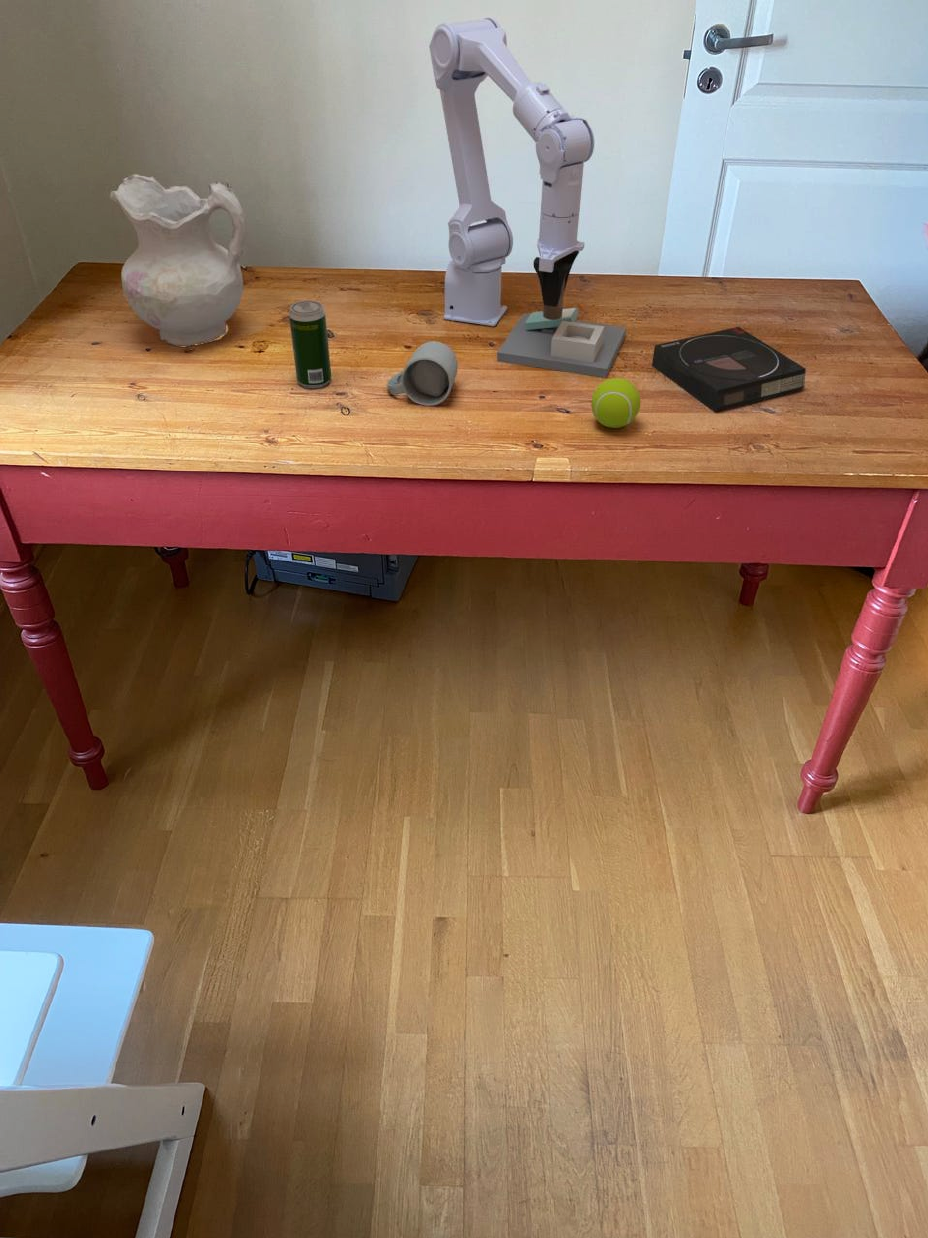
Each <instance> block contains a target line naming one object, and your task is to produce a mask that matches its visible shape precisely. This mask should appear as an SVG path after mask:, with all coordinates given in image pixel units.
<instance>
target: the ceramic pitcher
mask: <svg viewBox="0 0 928 1238" xmlns="http://www.w3.org/2000/svg"><path fill="white" fill-rule="evenodd" d="M120 182H121V184H119V186H118V188H117V190H113V191H111V192H110V193H109V198H110V200H111V201H112V202H114V203H116V204H118V205H119V206H120V208H121V209H122V211H123V213H124V214H125V216H126V218H127V219H128V220H129V222H130V223H131V225H132V227H133V228H134V230H135V233H136V236H137V239H138V246H137V248H136V250H135V251H133V252H132V254H131V255H130V256H129V257H128V259H127V260H125V262H124V264H123V265H122V268H121V273H120V274H121V275H120V277H121V286H122V291H123V296H124V297H125V298H126V301H127V303H128V304H129V307H130V308H131V310H132V311H133V312H134V313H135V314H136V315H137V316H138V317H139V318H140V319H141V320H142V322H144V323H146V325H149V326H150V327H153V328H155V329H156V330H157V329H158V330H159V331H158V332H159V338H160V339H161V338H162V339H163V340H164V341H165V343H166V342H167V343H166V344H168V343H169V345H172V346H176V347H179V346H189V347H192V346H191V345H195V344H201V343H206V342H210V341H213V340H215V339H217V338H219V337H220V336H221V335H223V334H225V333H226V325H228V324H227V323H226V321H227V320H229V319H231V318H232V316H233V315H234V313H235V311H237V308H238V307H239V304H240V302H241V299H242V296H243V291H244V281H243V278H244V277H243V274H242V270H241V265H240V263H239V260H240V259H241V258H242V255H243V253H244V246H245V243H246V239H247V229H246V228H247V227H246V220H245V215H244V211H243V208H242V205H241V203H240V201H239V199H238V197H237V196H236V195H235V194H234V189H233V187H232V186H229V183H228V182H224V181H219V182H217V181H216V182H213V183H210V184H207V188H208V190H209V195H208V197H207V198H201V197H200V196H199V195H197V194H196V192H194V191H193V190H192V189H191V188H190V187H188V186H187V185H185V186H183V185H182V186H178V185H176V186H175V185H174V186H169V187H167V188H166V187H163V186H162V185H161V183H159V182H158V181H157V179H156V178H154V177H153V175H151V176H149V177H147V176H145V175H140V174H138V173H136V174H135V173H134V174H132V175H128V176H127V175H126V177H125V178H123V179H121V181H120ZM221 209H222V210H224V211H226V212H227V213H228V215H229V216H230V219H231V222H232V227H233V230H232V235H231V239H230V242H229V243H228V244H229V245H228V249H226V247H224V246H223V245H220V244H218V243H216V242H215V241H214V239H213V237H212V235H211V231H210V217H211V216H212V214H213V213H214V212H216V211H217V210H221ZM162 339H161V340H162ZM163 340H162V341H163ZM164 341H163V342H164ZM210 343H211V342H210ZM206 344H207V343H206ZM201 345H202V344H201ZM195 346H196V345H195Z"/></svg>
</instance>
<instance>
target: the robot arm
mask: <svg viewBox="0 0 928 1238" xmlns="http://www.w3.org/2000/svg"><path fill="white" fill-rule="evenodd" d="M431 37H432V38H431V40H430V43H429V45H428V47H429V53H430V59H431V64H432V69H433V71H432V72H433V75H434V81H435V85H436V89H437V90H438V89H439V94H440V100H441V106H442V111H443V117H444V121H445V130H446V134H447V139H448V145H449V151H450V152H449V153H450V157H451V164H452V169H453V174H454V180H455V186H456V193H457V197H458V202H459V207H458V209H456V211H455V213H454V214H453V215H452V216H451V218H450V219H449V221H448V222H447V225H448V231H449V232H448V236H449V237H448V251H449V252H448V253H449V255H450V258H451V260H450V262H449V263H448V265H447V267H446V271H445V276H444V315H443V319H444V320H447V321H455V322H463V323H470V324H474V325H475V324H477V325H484V326H490V327H495V326H496V325H497V323H499V321H500V320H501V318H502V317H503V316H504V314H505V313H506V312H507V310H508V306H507V305H501V297H502V296H501V295H502V294H501V293H502V292H501V291H502V268H503V266H504V265H505V264H506V258H508V257H509V256H510V255H511V253H512V251H513V245H514V237H513V232H512V229H511V227H510V225H509V223H508V220H507V215H506V211H505V210H504V209H503V208H502V207H500V206H499V205H498V204H496V203H495V202H494V201H492V197H491V190H490V184H489V177H488V170H487V165H486V159H485V154H484V153H485V152H484V147H483V146H484V145H483V141H482V134H481V128H480V121H479V115H478V108H477V103H476V102H477V101H476V95H475V94H476V91H477V89H478V88H479V86H480V84H481V83H482V82H484V81H485V80H486V79H487V78H488V77H489V79H491V80H492V81H493V83H495V84H496V86H498V88H499V89H500V90H501V91H502V92H503V93H504V94H505V95H506V96H507V97H508V98H509V99H510V100H511V101H512V102H513V103H512V104H513V105H512V113H513V116H514V118H515V119H516V120H517V121H518V122H519V124H520V125H521V126H522V127H523V129H524V130H525V131H526V133H528V135H529V136H530V137H531V139H532V140H533V141H534V142H535V151H536V152H535V153H536V157H537V160H538V163H539V175H540V179H541V180H542V185H541V199H540V200H541V203H540V216H539V217H540V219H539V235H538V239H537V244H536V246H537V249H538V253H539V256H536V257H535V258H534V260H533V265H532V266H533V269H534V271H535V273H536V275H537V278H538V280H539V284H540V290H541V296H542V302H543V306H544V305H546V306H554V307H557V305H558V302H559V299H560V295H561V291H562V286H563V283H564V279H565V286H564V292H566V289H567V288H566V287H567V283H568V280H569V277H570V273H571V270H572V269H573V265H574V262H575V260H576V259H577V257H578V255H579V254H580V252H581V251H583V250H584V249H585V242H583V241H580V240H579V241H578V233H579V232H578V230H579V222H580V221H579V220H580V210H581V199H582V188H583V187H582V185H583V176H584V164H585V163H586V162H588V161H589V160H590V159H591V158H592V156H593V153H594V150H595V149H594V148H595V136H594V132H593V129H592V127H591V125H590V124H589V122H588V120H587V119H586V118H584V117H581V116H580V117H579V116H578V117H575V116H574V114H571V115H570V114H569V113H568V111H567V110H566V109H565V108H564V107H563V105H561V104H560V102H559V101H558V100H557V98H556V97H554V95H553V94H552V92H551V91H550V90H551V89H550V87H549V86H548V84H546V83H542V82H532V81H531V80H530V78H529V77H528V75H527V74H526V73H525V71H524V69H522V67H521V65H520V64H519V63H518V61H517V60H516V59H515V57H514V55H513V54H512V53H511V51H510V50H509V48H508V46H507V43H508V42H507V34H506V31H505V30H504V29H503V28H502V27H501V25H500V24H499V22H498V21H497V20H496V19H495V18H493V17H485V18H484V19H476V20H468V21H461V22H452V23H447V22H443V23H439V24H438V25H437V26H436V28H435V29H434V32H433V34H432V36H431ZM482 221H485V222H482ZM478 222H482V223H478ZM474 223H477V224H474ZM472 224H474V225H472Z"/></svg>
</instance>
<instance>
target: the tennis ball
mask: <svg viewBox="0 0 928 1238" xmlns="http://www.w3.org/2000/svg"><path fill="white" fill-rule="evenodd" d="M590 403H591V404H590V405H591V410H592V414H593V417H594V418H595V419H596V420H597V422H598V423H600V425H603V426H605V427H607V428H612V429H618V428H619V429H620V428H624V427H626V426H627V425H630V424H631V423H633V421H634V420H635V419H636V418H637V416H638V414H639V412H640V410H641V403H642V401H641V396H640V393H639V391H638V389H637V386H635V385H634V384H633V382H631V381H629V380H628V379H626V378H621V377H613V378H609V379H606V380H604V381H602V382H601V383H600V384H599V385H598V386H597V387H596V389H594V392H593V394H592V396H591V402H590Z"/></svg>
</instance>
